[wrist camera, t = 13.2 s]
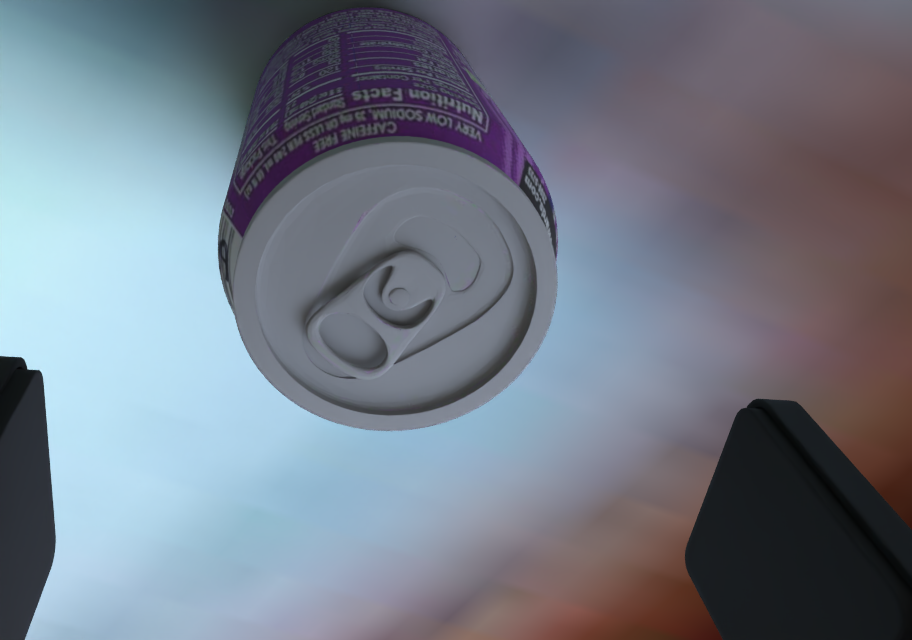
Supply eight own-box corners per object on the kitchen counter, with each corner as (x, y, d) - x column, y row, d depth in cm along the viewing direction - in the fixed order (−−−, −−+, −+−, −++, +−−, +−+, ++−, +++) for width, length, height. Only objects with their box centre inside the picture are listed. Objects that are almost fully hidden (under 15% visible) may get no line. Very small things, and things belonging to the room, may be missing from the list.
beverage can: (373, 267, 29) (401, 503, 18) (204, 125, 26) (123, 312, 15) (526, 120, 27) (653, 289, 16) (364, -52, 24) (396, 22, 13)
